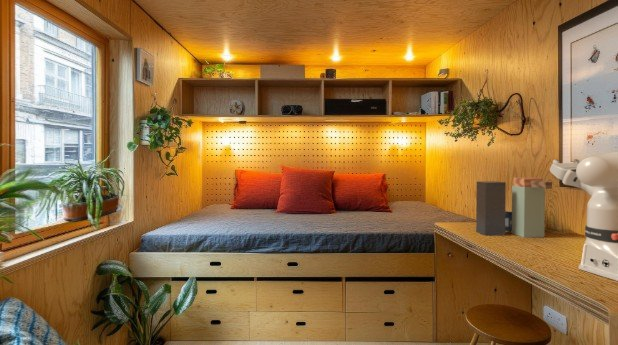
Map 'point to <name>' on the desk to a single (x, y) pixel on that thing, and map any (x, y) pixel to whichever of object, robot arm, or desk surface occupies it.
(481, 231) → the tower
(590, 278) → the desk surface
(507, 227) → the vhs cassette tape
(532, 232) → the sage tower
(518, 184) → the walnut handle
